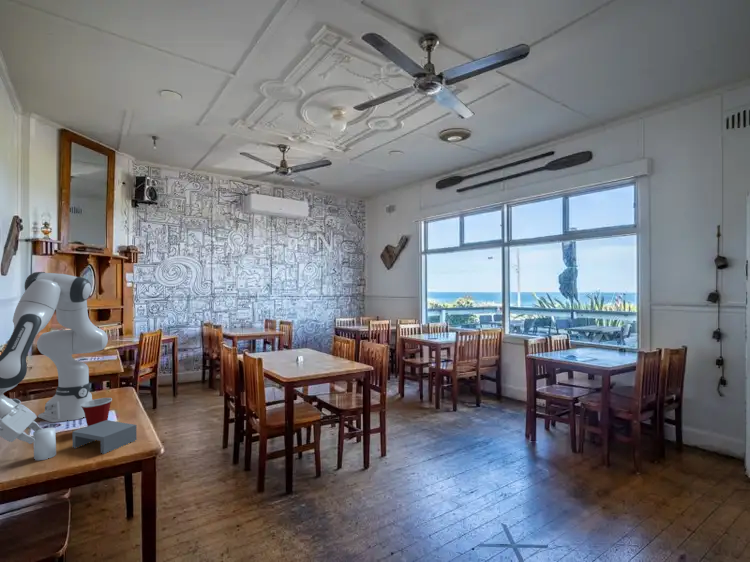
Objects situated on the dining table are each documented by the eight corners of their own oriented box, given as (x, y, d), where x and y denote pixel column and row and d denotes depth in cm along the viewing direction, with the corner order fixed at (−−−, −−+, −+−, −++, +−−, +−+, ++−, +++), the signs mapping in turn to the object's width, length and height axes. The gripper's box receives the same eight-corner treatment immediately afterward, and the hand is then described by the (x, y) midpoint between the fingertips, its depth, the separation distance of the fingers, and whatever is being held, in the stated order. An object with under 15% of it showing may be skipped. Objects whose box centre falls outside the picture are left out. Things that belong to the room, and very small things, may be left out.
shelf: (72, 447, 151) (72, 431, 151) (106, 435, 163) (106, 420, 163) (103, 454, 145) (103, 437, 145) (136, 440, 158) (136, 424, 158)
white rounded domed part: (29, 459, 141) (28, 433, 141) (48, 452, 147) (47, 427, 147) (42, 461, 140) (41, 434, 139) (60, 453, 145) (59, 428, 145)
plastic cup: (84, 427, 172) (84, 398, 172) (114, 424, 176) (114, 396, 176) (76, 436, 161) (76, 406, 161) (109, 433, 166) (109, 403, 165)
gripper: (-3, 413, 130) (37, 439, 134) (18, 397, 148) (52, 420, 152) (-22, 430, 128) (19, 456, 132) (2, 411, 146) (37, 434, 150)
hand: (37, 436), depth 142 cm, fingers open, 8 cm apart
